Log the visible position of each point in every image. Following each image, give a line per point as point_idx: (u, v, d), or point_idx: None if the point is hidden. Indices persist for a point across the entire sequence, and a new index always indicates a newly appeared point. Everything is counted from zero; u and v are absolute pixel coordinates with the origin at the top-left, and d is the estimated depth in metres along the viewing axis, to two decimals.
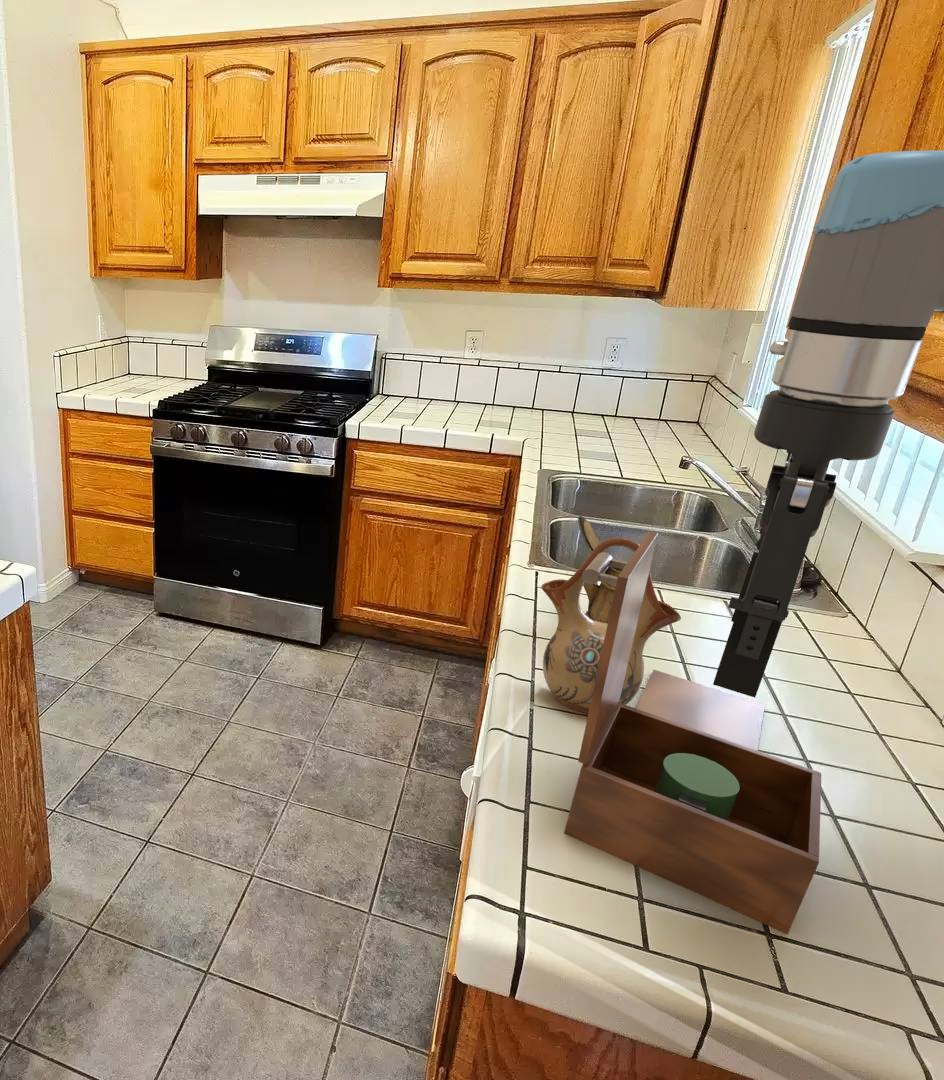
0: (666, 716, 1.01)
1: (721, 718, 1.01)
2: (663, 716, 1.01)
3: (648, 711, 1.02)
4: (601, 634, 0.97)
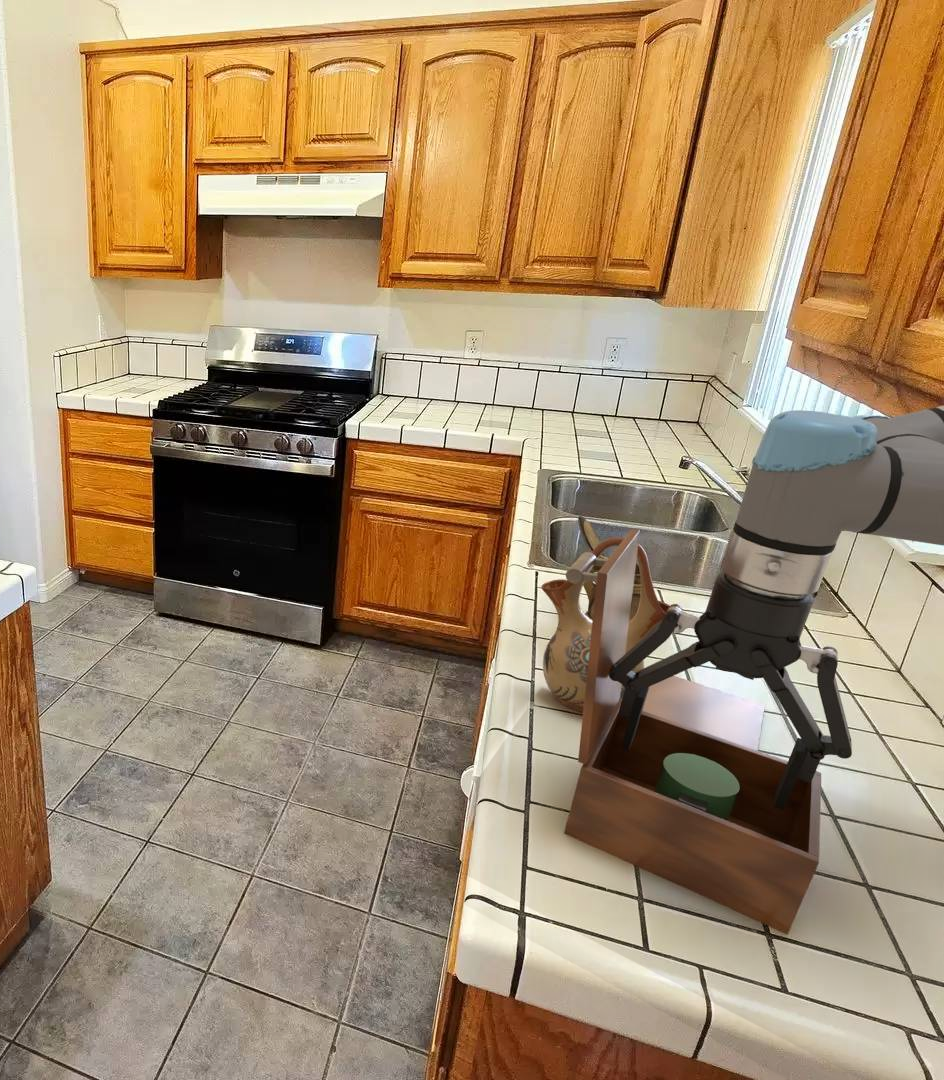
0: (666, 716, 1.01)
1: (721, 718, 1.01)
2: (663, 716, 1.01)
3: (648, 711, 1.02)
4: None
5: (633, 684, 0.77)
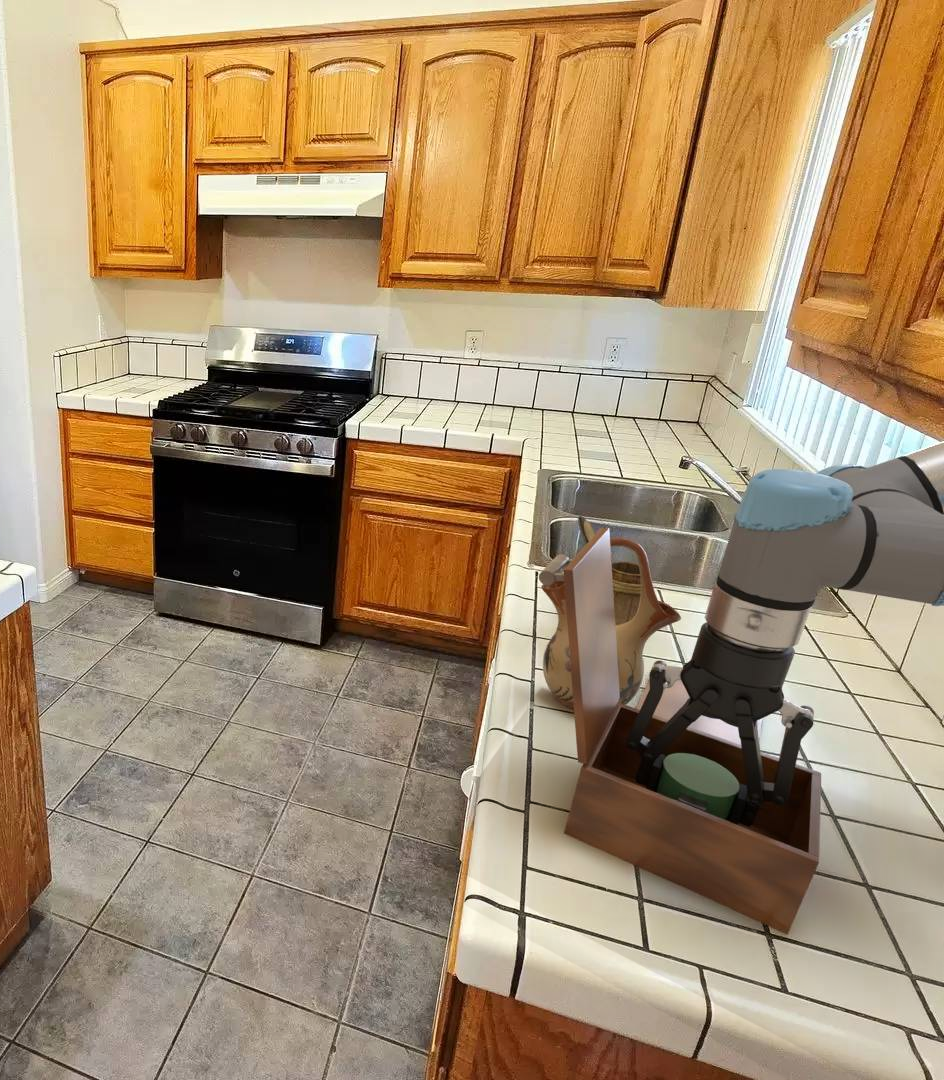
0: (666, 716, 1.01)
1: None
2: (663, 716, 1.01)
3: None
4: None
5: (648, 753, 0.78)
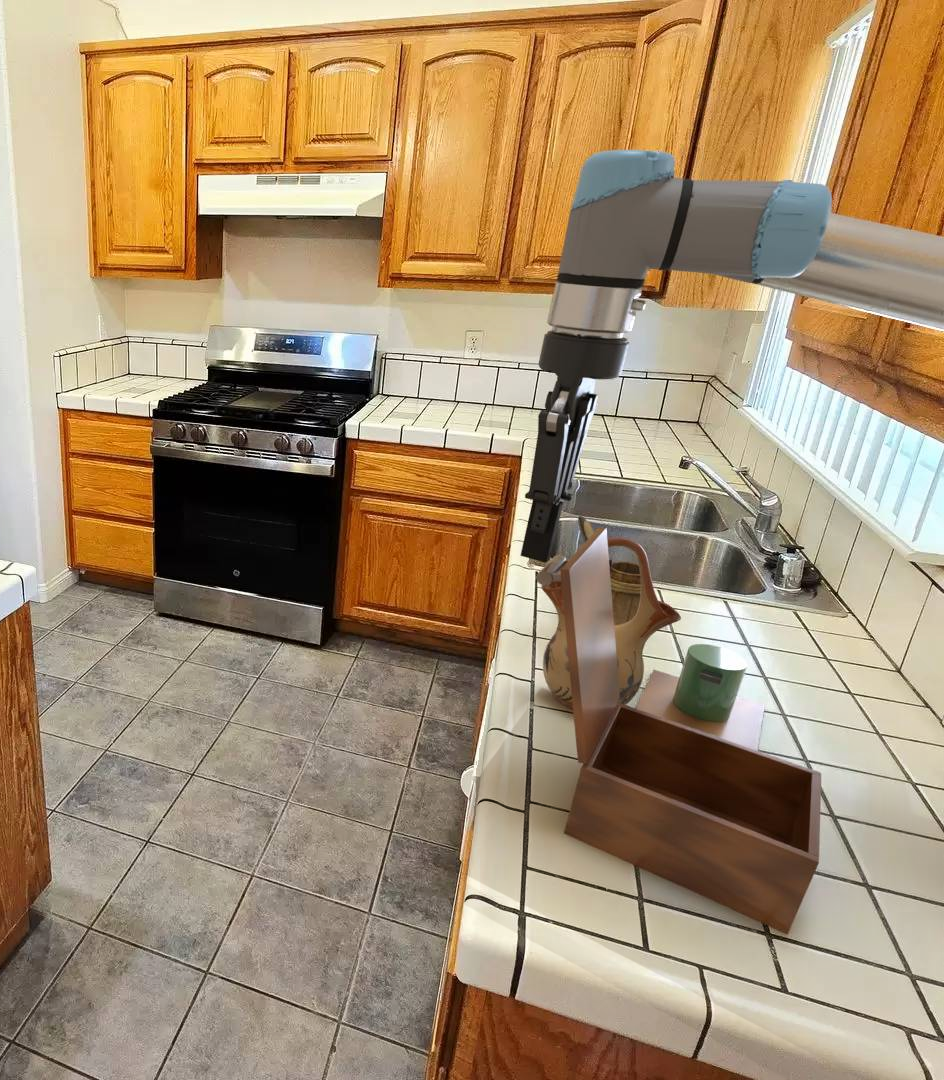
0: (666, 716, 1.01)
1: None
2: (663, 716, 1.01)
3: (648, 711, 1.02)
4: None
5: (558, 497, 0.76)
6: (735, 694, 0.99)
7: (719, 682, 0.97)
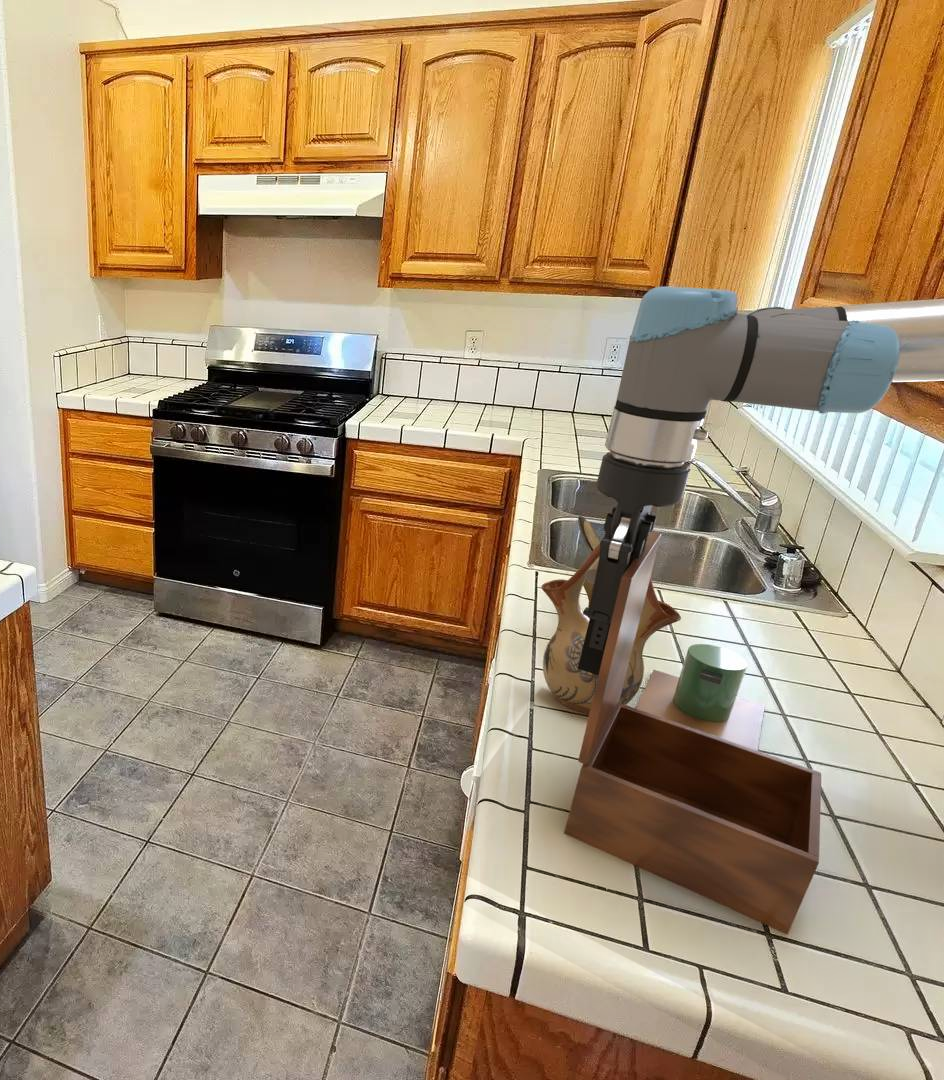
0: (666, 716, 1.01)
1: None
2: (663, 716, 1.01)
3: (648, 711, 1.02)
4: None
5: None
6: (735, 694, 0.99)
7: (719, 682, 0.97)
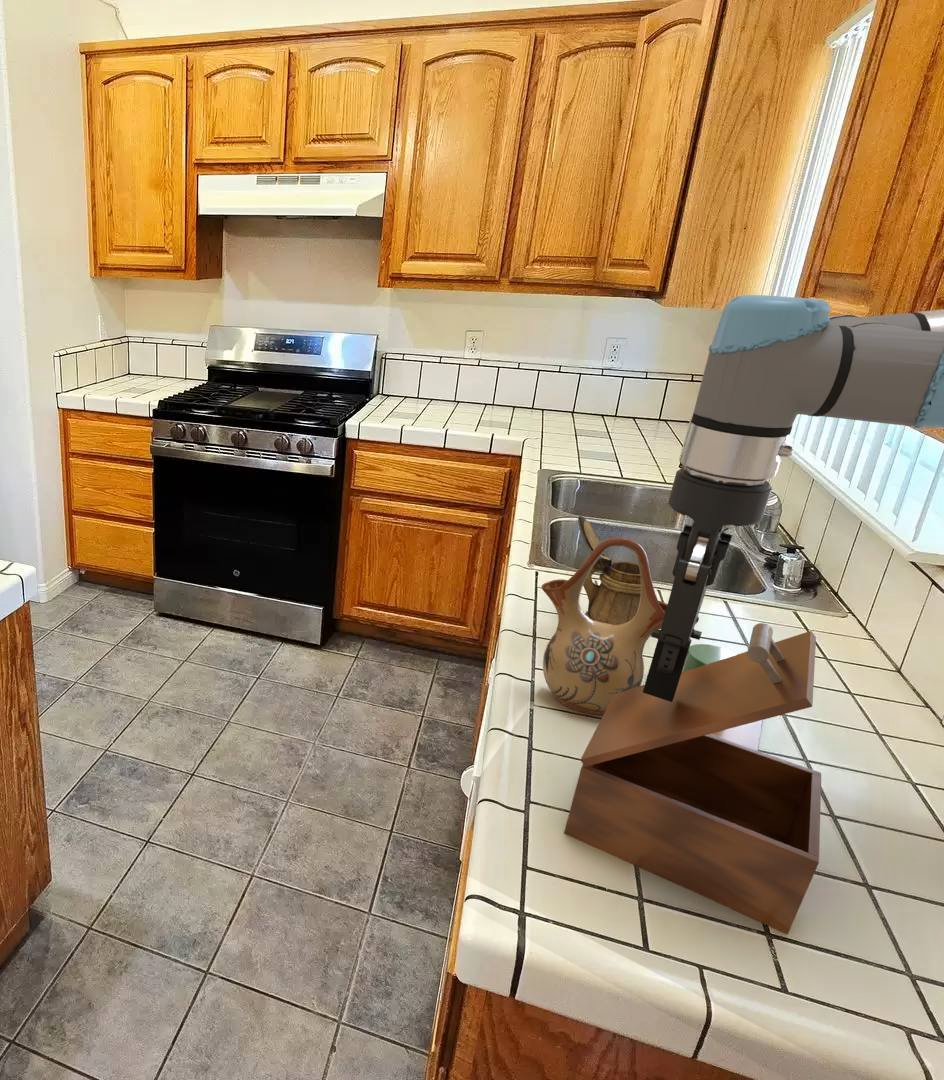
0: None
1: None
2: None
3: None
4: (601, 634, 0.97)
5: (689, 639, 0.73)
6: None
7: None
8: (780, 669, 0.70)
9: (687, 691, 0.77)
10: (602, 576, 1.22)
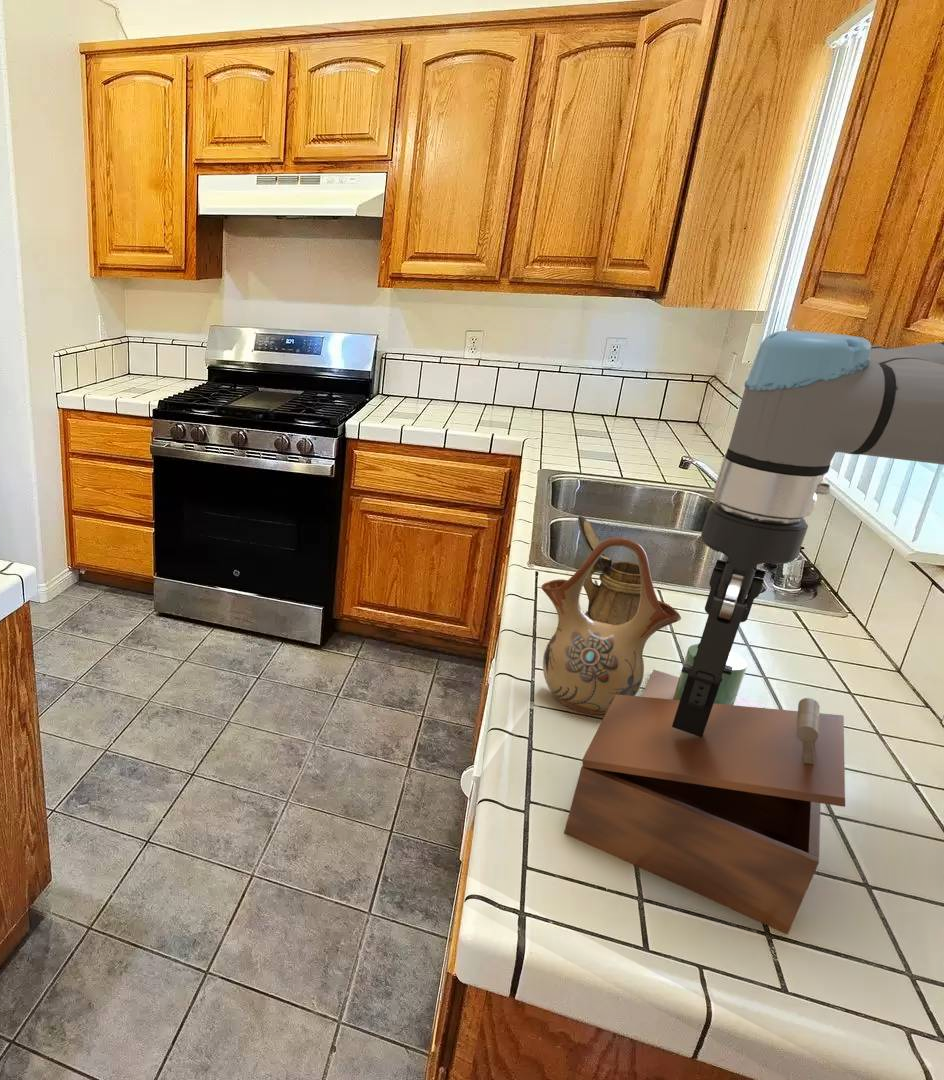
0: None
1: None
2: None
3: None
4: (601, 634, 0.97)
5: (721, 675, 0.72)
6: (735, 694, 0.99)
7: None
8: None
9: None
10: (602, 576, 1.22)
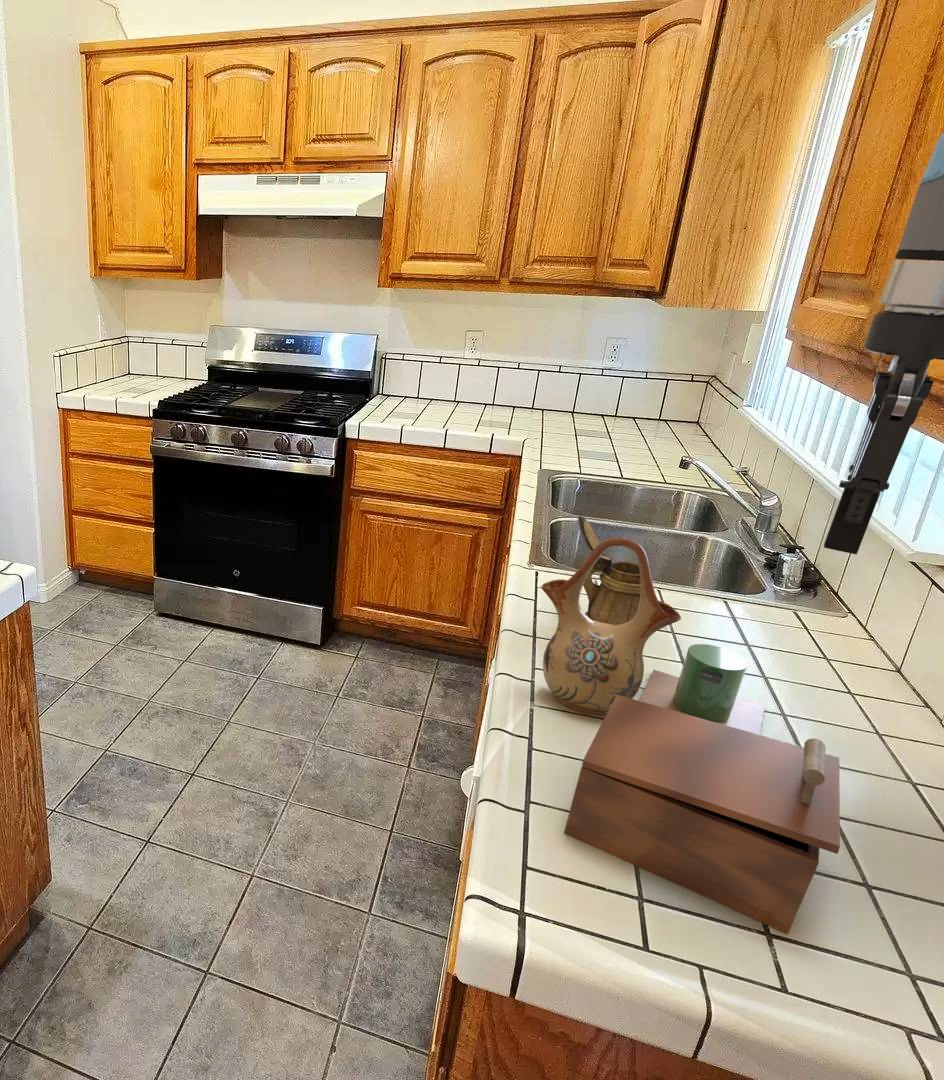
0: None
1: None
2: None
3: None
4: (601, 634, 0.97)
5: None
6: (735, 694, 0.99)
7: (719, 682, 0.97)
8: None
9: (703, 748, 0.78)
10: (602, 576, 1.22)
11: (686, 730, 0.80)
